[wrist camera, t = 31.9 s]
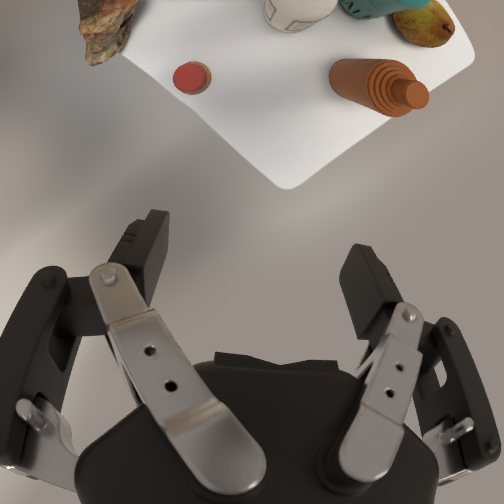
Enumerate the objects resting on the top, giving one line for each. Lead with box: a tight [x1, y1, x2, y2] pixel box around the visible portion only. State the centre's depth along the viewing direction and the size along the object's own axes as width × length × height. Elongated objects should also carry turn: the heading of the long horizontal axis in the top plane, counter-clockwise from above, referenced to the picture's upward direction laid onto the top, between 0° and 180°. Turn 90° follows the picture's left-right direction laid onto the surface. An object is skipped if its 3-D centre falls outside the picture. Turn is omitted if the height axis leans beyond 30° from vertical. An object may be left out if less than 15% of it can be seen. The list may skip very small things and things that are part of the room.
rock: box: [78, 0, 138, 66], centre depth 25 cm, size 12×12×10 cm
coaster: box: [182, 62, 211, 95], centre depth 34 cm, size 5×5×1 cm
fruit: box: [393, 0, 455, 48], centre depth 22 cm, size 9×9×12 cm
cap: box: [173, 64, 207, 92], centre depth 32 cm, size 4×4×3 cm
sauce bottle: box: [329, 59, 429, 117], centre depth 27 cm, size 6×6×19 cm
